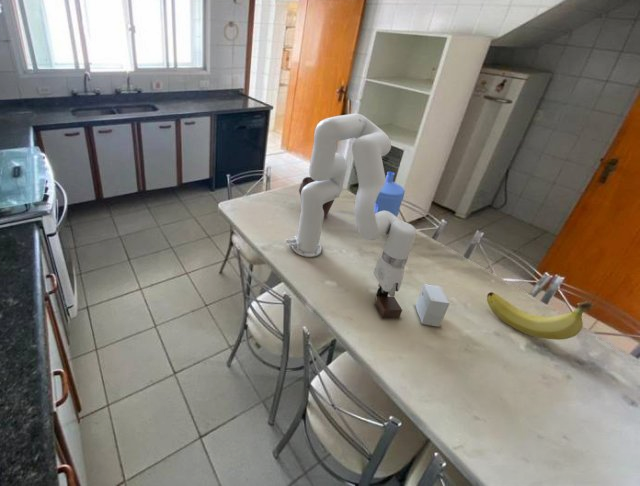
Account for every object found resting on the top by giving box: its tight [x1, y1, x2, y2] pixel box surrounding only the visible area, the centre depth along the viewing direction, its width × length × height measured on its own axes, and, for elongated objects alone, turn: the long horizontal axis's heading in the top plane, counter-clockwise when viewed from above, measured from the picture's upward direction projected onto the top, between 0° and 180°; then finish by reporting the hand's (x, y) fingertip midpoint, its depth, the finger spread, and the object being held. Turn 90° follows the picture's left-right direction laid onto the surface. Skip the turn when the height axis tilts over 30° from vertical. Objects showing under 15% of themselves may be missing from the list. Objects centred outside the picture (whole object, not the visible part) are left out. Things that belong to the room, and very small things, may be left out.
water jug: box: [375, 171, 406, 218], centre depth 156 cm, size 16×16×28 cm
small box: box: [415, 283, 450, 328], centre depth 109 cm, size 8×6×10 cm
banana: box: [486, 292, 594, 341], centre depth 104 cm, size 23×6×20 cm, turn 36°
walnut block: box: [374, 295, 403, 320], centre depth 111 cm, size 6×6×4 cm
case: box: [298, 176, 340, 220], centre depth 165 cm, size 18×20×18 cm
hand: (381, 298), depth 116 cm, fingers closed
